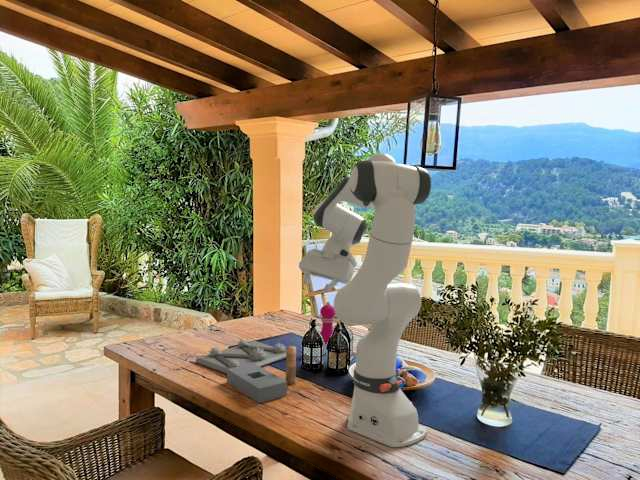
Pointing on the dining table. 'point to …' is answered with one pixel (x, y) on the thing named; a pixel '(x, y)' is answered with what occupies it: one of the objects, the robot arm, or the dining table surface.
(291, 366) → the peg
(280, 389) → the socket block
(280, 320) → the dining table surface
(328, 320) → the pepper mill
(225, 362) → the grey crossed stick tray
